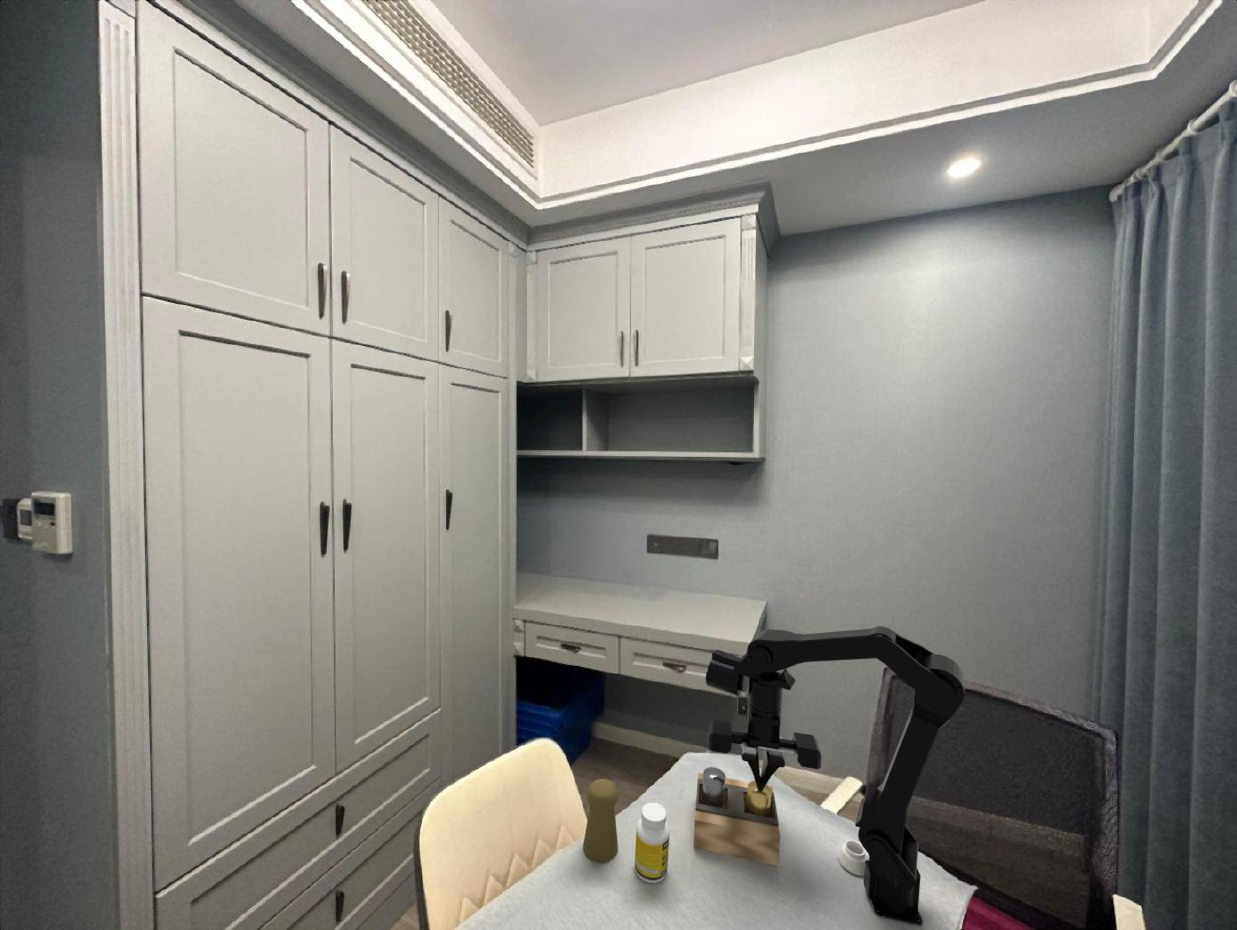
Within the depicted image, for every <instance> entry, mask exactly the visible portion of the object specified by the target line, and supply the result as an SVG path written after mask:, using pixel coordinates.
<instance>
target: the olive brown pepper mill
mask: <svg viewBox="0 0 1237 930" xmlns="http://www.w3.org/2000/svg"><path fill="white" fill-rule="evenodd" d="M618 798H619V792H618V788H617V786H616V785H615V783H614V782H613V781H612V780H609V779H607V778H599V779H596V780H594V781H593V782H592V783H590V785H589V787H588V790H587V798H586V799H587V802H588V805H589V810H588V814H587V815H588V816H587V821H586V826H585V833H584V836H583V837H584V839H583V843H582V850H583V854H584V856H585V857H586V858H587V859H588V860H589V861H591V862H594V863H596V862H597V864H604V863H608V862H610V861H612V860H613V859H614V858H615V857H616V856H617V854H618V852H619V843H618V831H617V822H616V821H617V820H616V810H615V808H616V804H617V803H618Z"/></svg>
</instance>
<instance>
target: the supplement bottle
mask: <svg viewBox="0 0 1237 930" xmlns="http://www.w3.org/2000/svg"><path fill="white" fill-rule="evenodd" d="M670 832H671V831H670V826H669V823H668V822H667V811H666V809H665V807H664V806H663V805H661V804H660V803H656V802H648V803H646V804H645V805H643V807H642V809H641V816H640V819H638V821H637V823H636V831H635V849H634V850H635V851H634V871H635V873H636V875H637V877H638V878H639V879H640V880H641V881H643V882H646V883H647V884H658V883H660V882H661V881H663V880H664V879H665V878H666V876H667V873H668V868H669V867H668V865H669V852H670V851H669V849H670V848H669V847H670Z"/></svg>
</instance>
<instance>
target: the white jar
mask: <svg viewBox="0 0 1237 930" xmlns="http://www.w3.org/2000/svg"><path fill="white" fill-rule="evenodd" d="M837 860H838V862H839V864H841V866H842V867H843V868H844V869H845V870H846V871H848V872H849V873H851V874H854V875H856V876H863V877H864V871H865V861H866V860H869V855H868V853H867V851H866V850H865V849H864V848H863V846H862V844H861V842H858V841H856V840H853V839H848V840H846V841H845V843H843V844H842V846H841V847H840V848H839V850H837Z"/></svg>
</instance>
